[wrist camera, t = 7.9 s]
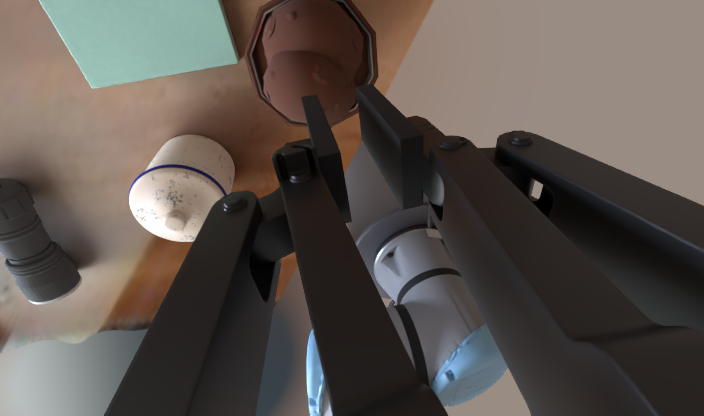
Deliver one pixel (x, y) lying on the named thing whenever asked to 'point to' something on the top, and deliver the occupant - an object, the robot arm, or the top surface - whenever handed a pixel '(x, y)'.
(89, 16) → the scale
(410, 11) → the top surface
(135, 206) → the teacup with lid
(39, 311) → the top surface
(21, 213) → the flashlight
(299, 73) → the ice cream bowl
